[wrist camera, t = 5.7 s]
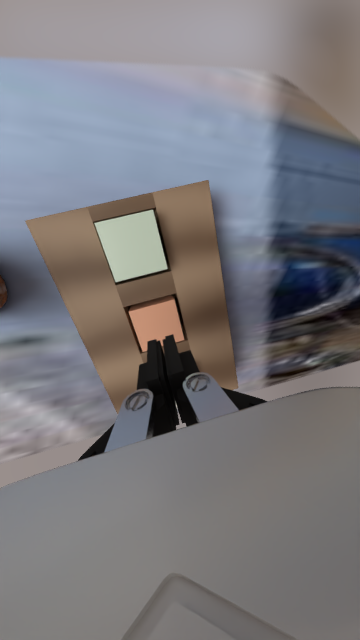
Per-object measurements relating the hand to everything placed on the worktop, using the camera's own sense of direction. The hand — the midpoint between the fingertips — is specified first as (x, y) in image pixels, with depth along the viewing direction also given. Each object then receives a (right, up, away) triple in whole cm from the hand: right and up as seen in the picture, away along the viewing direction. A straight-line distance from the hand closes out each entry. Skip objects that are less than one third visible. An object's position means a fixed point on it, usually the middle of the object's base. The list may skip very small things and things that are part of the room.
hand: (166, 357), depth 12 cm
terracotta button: (-2, +3, +8) cm, 9 cm away
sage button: (-3, +9, +5) cm, 11 cm away
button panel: (-2, +3, +10) cm, 10 cm away
